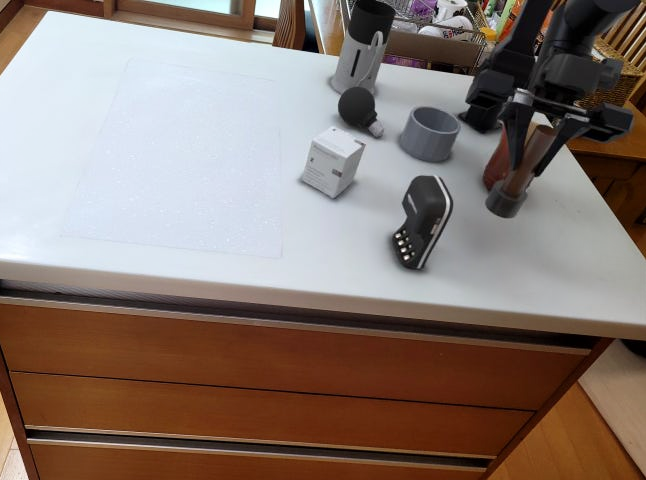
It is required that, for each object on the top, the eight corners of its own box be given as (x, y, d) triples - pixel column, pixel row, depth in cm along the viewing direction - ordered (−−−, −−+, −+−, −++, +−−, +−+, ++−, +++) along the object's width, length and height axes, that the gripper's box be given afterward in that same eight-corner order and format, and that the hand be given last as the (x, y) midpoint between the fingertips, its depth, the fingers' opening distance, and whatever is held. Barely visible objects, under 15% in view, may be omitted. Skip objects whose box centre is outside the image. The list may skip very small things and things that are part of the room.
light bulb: (388, 125, 90) (348, 80, 91) (362, 151, 94) (324, 108, 95) (401, 118, 95) (363, 76, 96) (376, 144, 99) (340, 103, 100)
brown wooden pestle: (498, 194, 76) (543, 117, 67) (523, 213, 73) (572, 136, 65) (478, 201, 74) (521, 123, 65) (502, 222, 71) (551, 143, 63)
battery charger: (384, 234, 77) (411, 167, 69) (409, 235, 78) (439, 169, 70) (397, 270, 73) (428, 203, 64) (423, 271, 73) (458, 205, 65)
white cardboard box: (300, 181, 83) (310, 139, 77) (321, 165, 87) (332, 124, 81) (334, 199, 81) (347, 158, 76) (353, 182, 85) (367, 141, 79)
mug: (482, 164, 95) (510, 111, 87) (531, 185, 93) (563, 133, 85) (464, 198, 87) (493, 143, 79) (517, 222, 85) (552, 167, 77)
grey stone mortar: (423, 129, 100) (434, 102, 96) (457, 155, 96) (471, 127, 92) (390, 139, 96) (400, 110, 92) (424, 166, 91) (437, 138, 87)
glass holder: (370, 78, 110) (394, 1, 100) (382, 116, 101) (410, 34, 90) (328, 72, 109) (348, -7, 98) (336, 109, 99) (359, 26, 89)
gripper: (514, -2, 60) (469, 134, 61) (684, 45, 59) (638, 184, 59) (483, 42, 71) (445, 157, 72) (626, 82, 70) (587, 199, 70)
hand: (524, 173), depth 68 cm, fingers closed on brown wooden pestle, 2 cm apart
